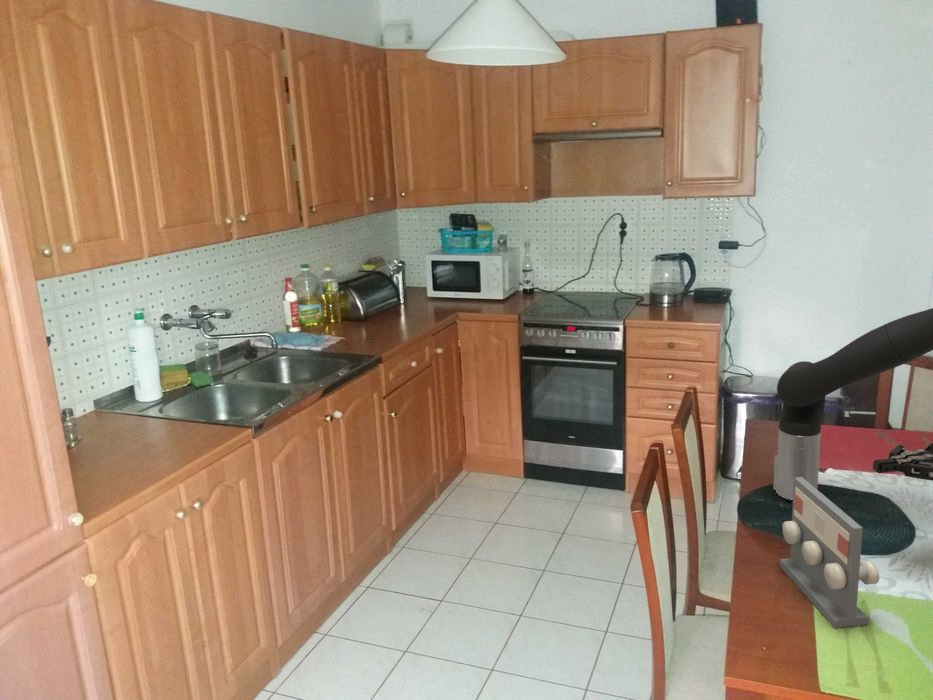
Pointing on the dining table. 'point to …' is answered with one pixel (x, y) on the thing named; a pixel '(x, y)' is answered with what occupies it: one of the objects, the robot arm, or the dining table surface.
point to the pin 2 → (838, 575)
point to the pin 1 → (792, 532)
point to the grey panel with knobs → (826, 555)
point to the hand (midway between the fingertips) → (875, 466)
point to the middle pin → (812, 552)
